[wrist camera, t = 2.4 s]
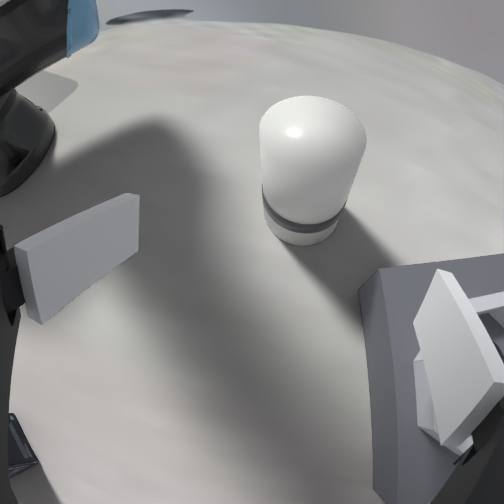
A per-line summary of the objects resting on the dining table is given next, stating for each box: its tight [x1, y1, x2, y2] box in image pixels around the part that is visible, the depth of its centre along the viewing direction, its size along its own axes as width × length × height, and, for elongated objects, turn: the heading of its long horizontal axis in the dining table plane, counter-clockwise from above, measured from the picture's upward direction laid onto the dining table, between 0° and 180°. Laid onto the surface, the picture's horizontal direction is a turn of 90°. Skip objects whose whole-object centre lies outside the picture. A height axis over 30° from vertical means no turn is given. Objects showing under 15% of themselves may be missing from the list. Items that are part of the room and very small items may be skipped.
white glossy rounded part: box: [259, 96, 366, 246], centre depth 24 cm, size 7×7×11 cm
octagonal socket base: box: [358, 254, 504, 504], centre depth 19 cm, size 18×14×8 cm
